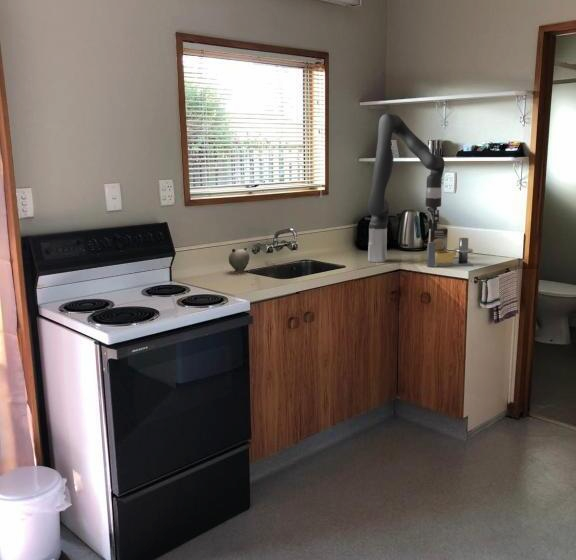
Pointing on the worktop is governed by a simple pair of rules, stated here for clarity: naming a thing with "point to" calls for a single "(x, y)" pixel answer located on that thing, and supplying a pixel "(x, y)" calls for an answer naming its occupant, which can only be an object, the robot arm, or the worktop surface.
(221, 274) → the worktop surface
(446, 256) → the rosette stand
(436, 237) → the coffee box
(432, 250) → the grey square beam
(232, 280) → the worktop surface
